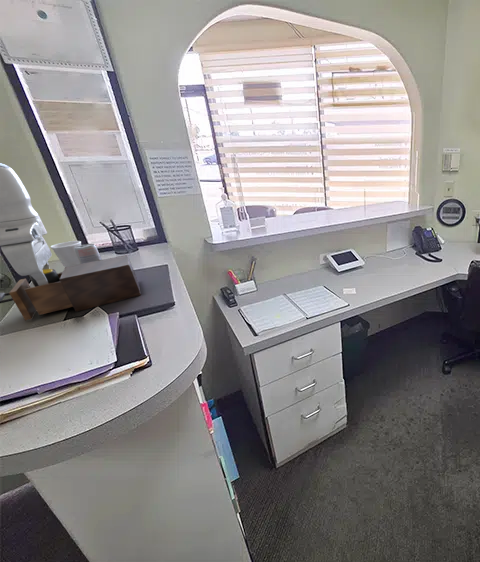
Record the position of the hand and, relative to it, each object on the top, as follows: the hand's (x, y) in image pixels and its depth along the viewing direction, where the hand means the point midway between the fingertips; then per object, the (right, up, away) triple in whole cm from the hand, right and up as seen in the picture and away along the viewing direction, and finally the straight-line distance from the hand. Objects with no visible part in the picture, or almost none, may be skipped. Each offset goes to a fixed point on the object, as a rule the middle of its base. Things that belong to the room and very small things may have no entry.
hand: (46, 281), depth 82 cm
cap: (0, -2, +1) cm, 2 cm away
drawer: (-1, -7, +2) cm, 7 cm away
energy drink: (-6, 0, +22) cm, 23 cm away
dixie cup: (-24, +4, +34) cm, 42 cm away
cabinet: (+9, -4, +9) cm, 14 cm away
